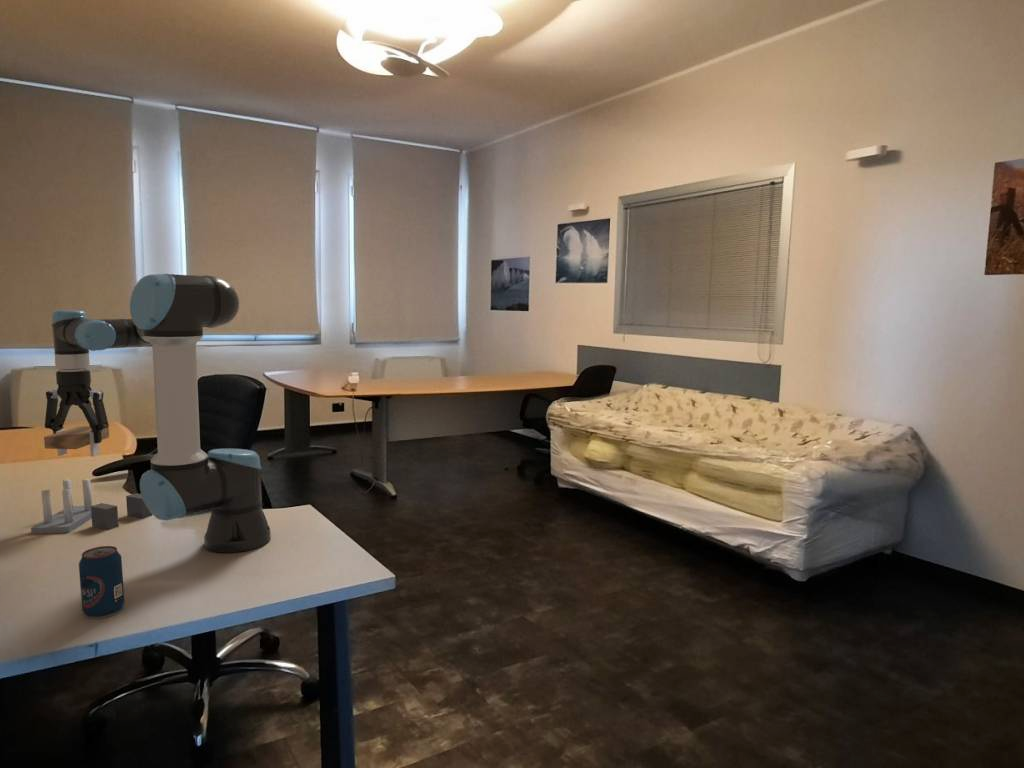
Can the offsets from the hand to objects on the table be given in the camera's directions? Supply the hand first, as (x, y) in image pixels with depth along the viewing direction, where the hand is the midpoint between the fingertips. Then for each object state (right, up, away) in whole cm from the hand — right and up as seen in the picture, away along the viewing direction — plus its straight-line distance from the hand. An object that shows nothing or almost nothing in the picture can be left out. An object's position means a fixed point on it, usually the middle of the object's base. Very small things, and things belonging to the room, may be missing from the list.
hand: (78, 454), depth 178 cm
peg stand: (-4, -18, +2) cm, 18 cm away
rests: (+10, -18, +2) cm, 21 cm away
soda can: (+37, -25, -49) cm, 66 cm away
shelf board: (0, +3, 0) cm, 3 cm away
